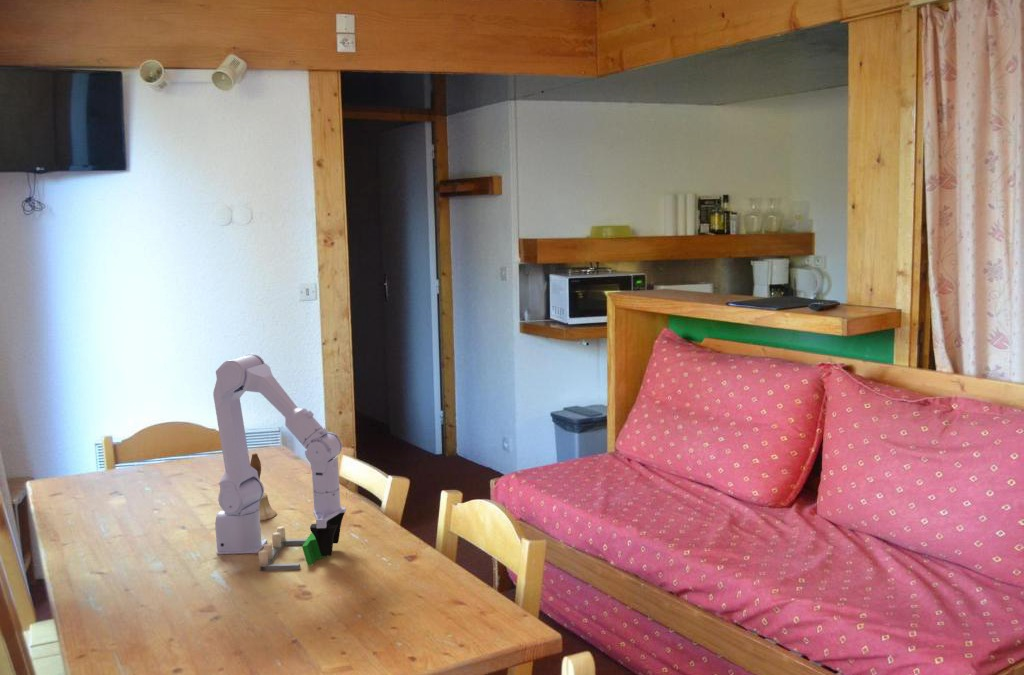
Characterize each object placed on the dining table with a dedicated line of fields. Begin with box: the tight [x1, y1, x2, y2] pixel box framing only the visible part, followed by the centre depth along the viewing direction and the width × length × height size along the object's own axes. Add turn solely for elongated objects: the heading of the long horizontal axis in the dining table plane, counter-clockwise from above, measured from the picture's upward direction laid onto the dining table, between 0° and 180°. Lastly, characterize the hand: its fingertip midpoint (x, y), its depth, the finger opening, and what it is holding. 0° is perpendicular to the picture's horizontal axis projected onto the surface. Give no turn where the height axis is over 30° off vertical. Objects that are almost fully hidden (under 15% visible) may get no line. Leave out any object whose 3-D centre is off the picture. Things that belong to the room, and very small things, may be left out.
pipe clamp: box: [301, 531, 328, 566], centre depth 213 cm, size 11×4×5 cm, turn 179°
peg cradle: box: [258, 525, 307, 572], centre depth 213 cm, size 8×17×4 cm, turn 179°
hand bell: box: [250, 452, 278, 522], centre depth 241 cm, size 8×8×16 cm
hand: (330, 549), depth 213 cm, fingers open, 7 cm apart
